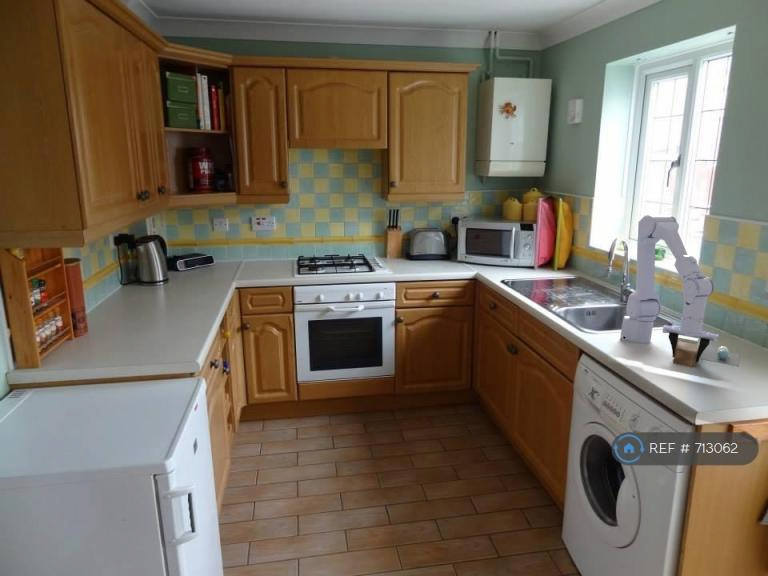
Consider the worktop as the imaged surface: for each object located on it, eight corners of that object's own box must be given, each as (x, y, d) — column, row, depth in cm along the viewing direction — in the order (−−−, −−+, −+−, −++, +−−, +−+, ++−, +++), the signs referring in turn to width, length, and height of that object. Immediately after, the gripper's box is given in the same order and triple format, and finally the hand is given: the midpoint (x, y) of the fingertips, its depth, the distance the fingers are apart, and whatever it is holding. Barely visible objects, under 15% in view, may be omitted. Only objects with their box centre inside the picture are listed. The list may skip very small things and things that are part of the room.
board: (671, 356, 171) (672, 353, 171) (675, 346, 181) (676, 342, 181) (738, 369, 162) (738, 366, 162) (738, 358, 172) (739, 354, 171)
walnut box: (672, 363, 163) (675, 348, 162) (676, 356, 170) (678, 341, 168) (693, 368, 160) (696, 352, 158) (696, 360, 167) (699, 344, 165)
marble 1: (716, 355, 170) (718, 346, 169) (716, 352, 172) (718, 344, 172) (727, 357, 168) (729, 348, 168) (727, 355, 171) (729, 346, 170)
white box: (675, 352, 172) (677, 337, 171) (677, 344, 179) (680, 330, 178) (695, 356, 169) (697, 341, 168) (697, 348, 176) (699, 333, 175)
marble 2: (716, 359, 167) (717, 350, 166) (716, 356, 169) (718, 347, 169) (727, 361, 165) (729, 352, 165) (727, 358, 168) (729, 349, 167)
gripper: (664, 315, 161) (657, 357, 165) (720, 324, 154) (712, 368, 157) (667, 310, 167) (660, 350, 171) (721, 318, 160) (713, 361, 163)
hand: (685, 358), depth 164 cm, fingers closed on walnut box, 6 cm apart
